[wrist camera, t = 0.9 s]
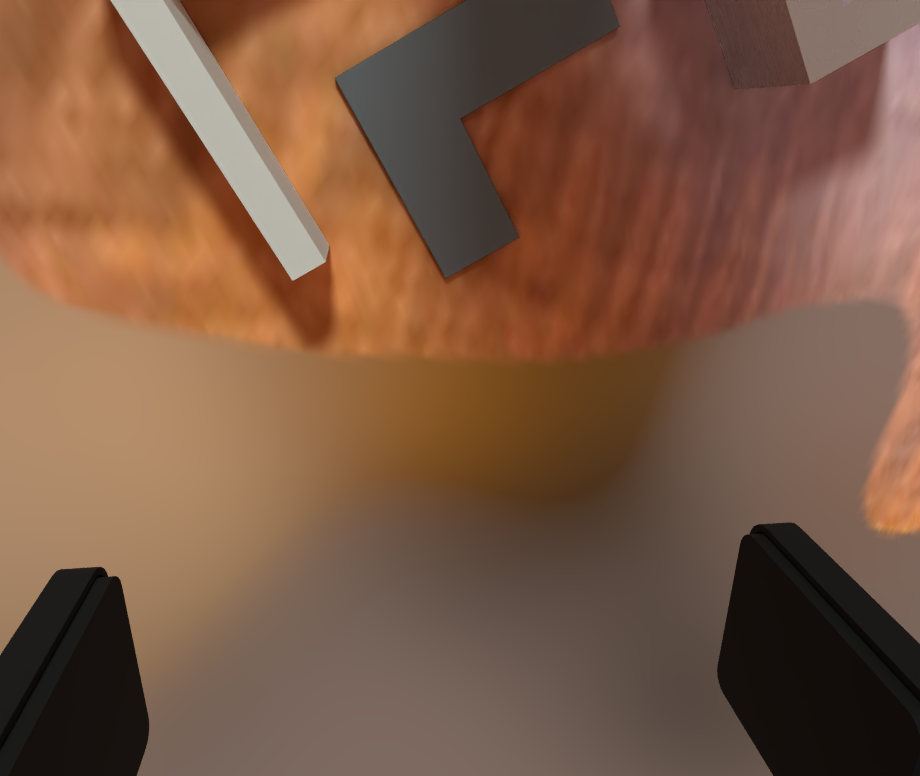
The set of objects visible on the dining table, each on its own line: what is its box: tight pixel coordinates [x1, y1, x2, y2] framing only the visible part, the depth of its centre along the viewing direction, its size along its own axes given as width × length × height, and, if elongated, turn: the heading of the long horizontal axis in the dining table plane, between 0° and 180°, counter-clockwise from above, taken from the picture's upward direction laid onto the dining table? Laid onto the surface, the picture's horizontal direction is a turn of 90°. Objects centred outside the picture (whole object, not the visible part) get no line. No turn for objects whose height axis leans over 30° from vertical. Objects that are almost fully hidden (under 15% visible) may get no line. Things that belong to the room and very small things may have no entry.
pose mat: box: [335, 0, 620, 278], centre depth 32 cm, size 12×10×1 cm
